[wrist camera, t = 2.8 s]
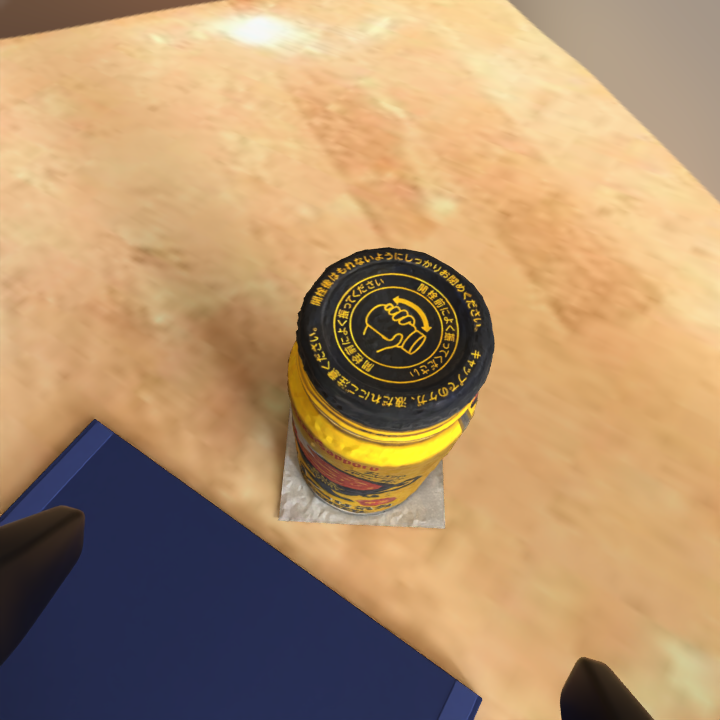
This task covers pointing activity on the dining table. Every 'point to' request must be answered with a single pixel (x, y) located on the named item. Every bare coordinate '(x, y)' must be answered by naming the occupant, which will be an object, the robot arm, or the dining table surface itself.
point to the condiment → (381, 389)
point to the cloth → (197, 616)
